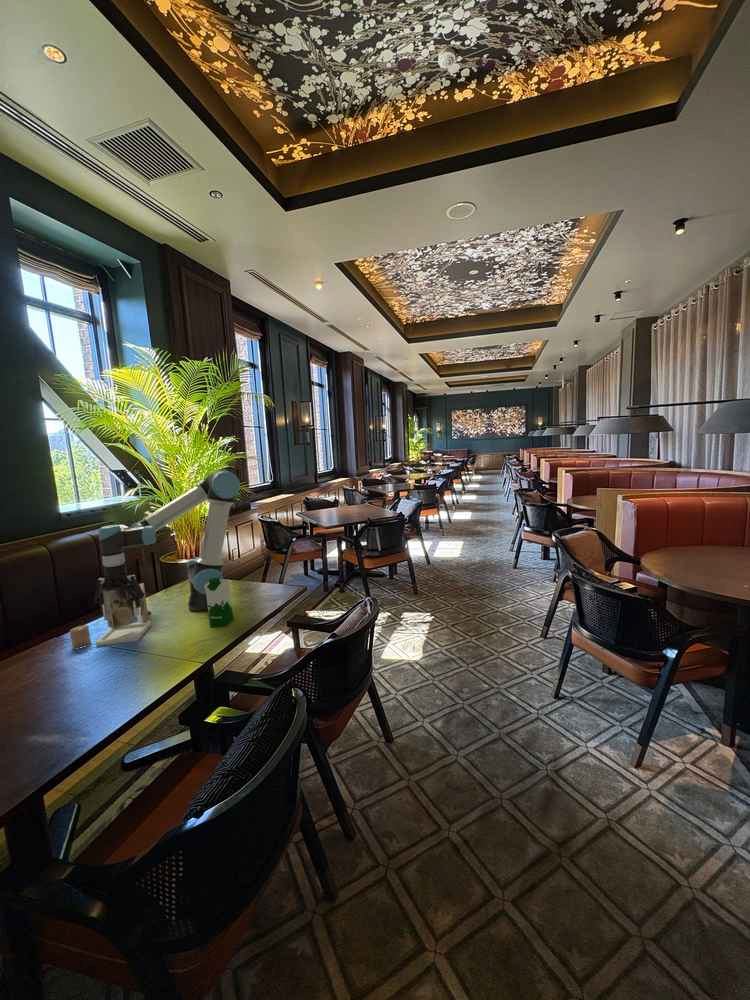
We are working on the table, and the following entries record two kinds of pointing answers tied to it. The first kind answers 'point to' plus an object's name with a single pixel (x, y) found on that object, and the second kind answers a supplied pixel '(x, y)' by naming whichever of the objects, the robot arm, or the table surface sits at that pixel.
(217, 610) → the milk carton
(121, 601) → the coffee box
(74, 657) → the table surface
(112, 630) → the tray
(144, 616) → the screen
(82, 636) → the brown domed capsule
